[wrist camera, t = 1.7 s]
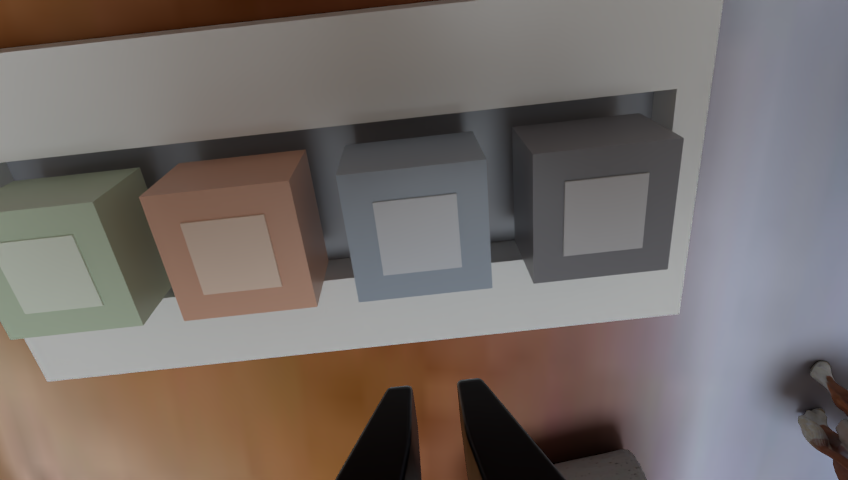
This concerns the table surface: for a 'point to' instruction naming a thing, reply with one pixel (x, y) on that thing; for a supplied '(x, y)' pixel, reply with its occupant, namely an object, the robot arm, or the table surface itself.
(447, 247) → the key slate
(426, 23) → the keypad
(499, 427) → the robot arm
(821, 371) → the bull figurine
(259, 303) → the key terracotta
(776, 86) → the table surface
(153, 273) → the key sage
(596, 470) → the ceramic mug
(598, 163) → the key charcoal
